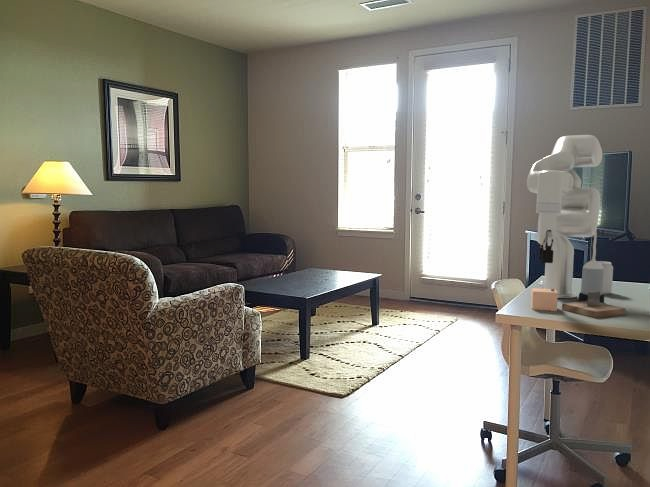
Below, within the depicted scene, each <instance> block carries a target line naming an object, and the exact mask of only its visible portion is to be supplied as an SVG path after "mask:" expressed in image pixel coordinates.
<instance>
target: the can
mask: <svg viewBox="0 0 650 487" xmlns="http://www.w3.org/2000/svg"><path fill="white" fill-rule="evenodd" d="M596 261H597V262H599V263H600V264H601V265H602V266H603V268H604V275H603V292H602V294H603V295H609V294H611V293H612V290H613V275H614V266H613V265H612V262H610V261H603V260H600V261H599V260H596Z"/></svg>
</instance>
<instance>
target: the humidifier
mask: <svg viewBox="0 0 650 487" xmlns="http://www.w3.org/2000/svg"><path fill="white" fill-rule="evenodd" d="M597 235H598V231H597V230H596V231H595V232H594V235H593V237H590V238H591V241H590V242H591V243H590V245H592V246H590V247H589V249H590V250H592V252H590V255H589V256H590V257H589V259H590V260H589V261H588V262H585V263H584V264H583V266H582V271H581V285H580V286H581V288H580V292H579V293H578V298H577V299H578V300H577V302H581V301H588V292H591V291H600V303H604V304H605V294H602V292H603V275H604V268H603V266H602V265H601V264H600V263H599V262H597V261H598V260H596V255H597V247H596V246H597ZM592 240H593V241H592ZM591 247H592V249H591Z"/></svg>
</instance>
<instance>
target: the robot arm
mask: <svg viewBox="0 0 650 487" xmlns="http://www.w3.org/2000/svg"><path fill="white" fill-rule="evenodd" d="M602 160H603V150H602V146H601V144H600V141H599V140H598V138H597V137H596V136H595V135H592V134H578V135H577V134H576V135H575V134H574V135H573V134H572V135H565V136H561V137H560V138H558V139H557V140H556V142H555V144H554V146H553V148H552V151H551V154H550V155H547V156H546V157H543V158H541V159H539V160H537V161H536V162H535V163H534V164H532V167H531V168H530V171H529V173H528V175H527V179H526V188H527V189H528V191H529V192H530V193H533V194H536V207H535V213H536V214H538V219H537V220H538V221H537V230H536V231H537V234H536V242H537V243H538V244H540V245H539V246H540V247H539V250H538V251H539V252H538V253H539V254H538V259H539V260H541V262H542V263H543V264H544V265H545V266H544V280H543V281H542V280H540V282H537V286H538V287H541V289H555V290H556V291H557V292H558V298H557V299H573V298H576V297H577V293H576V292H574V291H573V278H574V277H573V275H574V273H573V272H574V255H575V249H574V245H573V244H572V243H571V241H570V240H569V239H568V238H571V237H573V238H593V237H594V232H595V231H597V230H598V223H599V217H600V216H599V215H600V209H601V194H600V191H599V190H598V189H597V188H593V187H581V185H582V180H581V178H580V176H579V175H578V174H577V172H576V171H574V170H573V168H595V167H598V166H599V165H600V164H601V162H602Z"/></svg>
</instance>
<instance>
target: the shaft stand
mask: <svg viewBox="0 0 650 487" xmlns="http://www.w3.org/2000/svg"><path fill="white" fill-rule="evenodd" d="M561 304H562V305H561V309H562V310H563V311H567V312H571V313H575V314H578V315H581V316H582V315H583V316H587V317H590V318H595V319H600V318H607V317H609V318H610V317H615V316H616V317H617V316H623V315H624V316H625V315H626V307H621V306H617V305H614V304H613V305H612V304H608V303H605V302H604V303H600V291H591V292H588V301H581V302H578V301H572V302H571V301H570V302H565V303H563V302H562V303H561Z"/></svg>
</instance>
